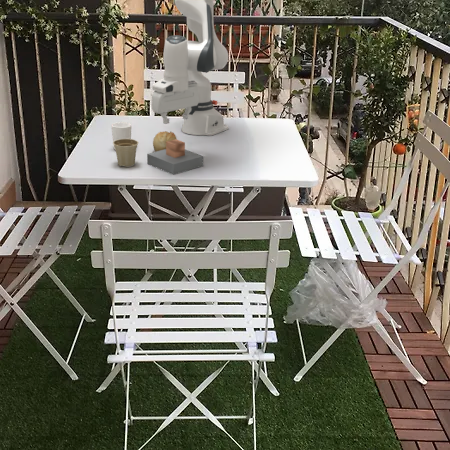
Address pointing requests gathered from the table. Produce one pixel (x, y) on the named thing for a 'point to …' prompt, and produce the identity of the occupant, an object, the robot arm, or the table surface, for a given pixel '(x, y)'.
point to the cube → (175, 148)
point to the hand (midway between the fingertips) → (176, 121)
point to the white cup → (121, 131)
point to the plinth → (175, 161)
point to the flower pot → (125, 151)
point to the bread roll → (162, 140)
